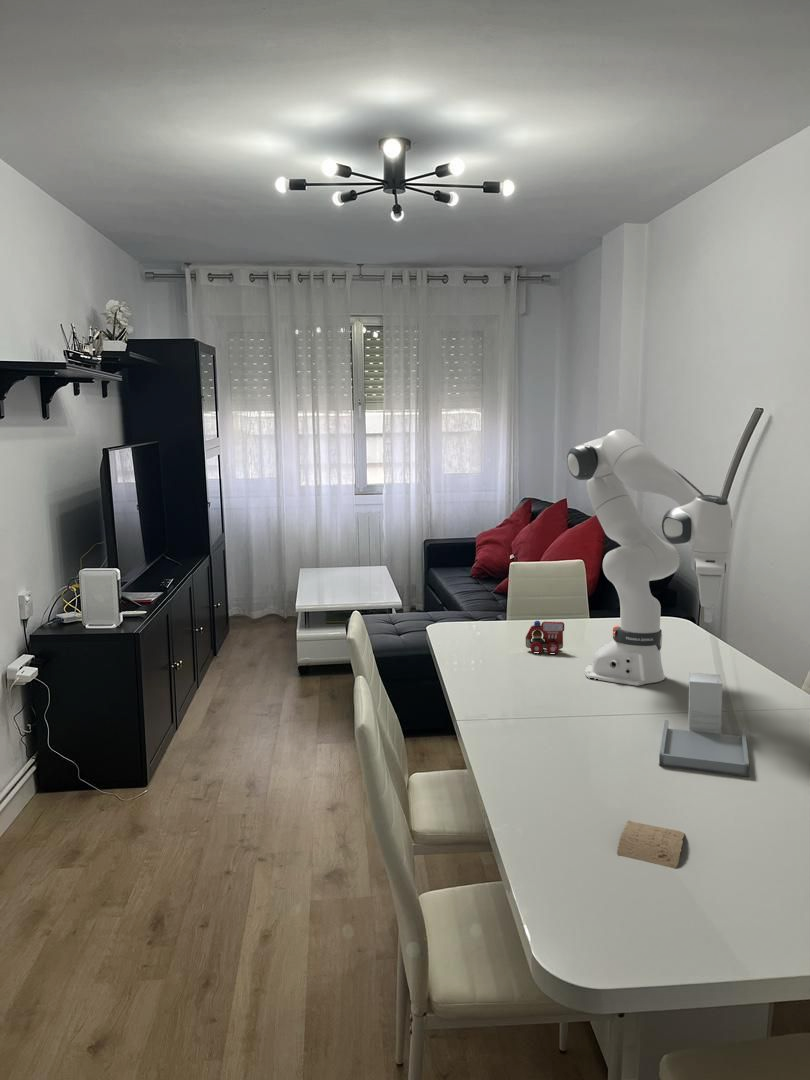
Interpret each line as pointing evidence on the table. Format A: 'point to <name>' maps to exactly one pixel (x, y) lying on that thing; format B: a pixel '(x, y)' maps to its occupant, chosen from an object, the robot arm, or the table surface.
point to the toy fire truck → (545, 637)
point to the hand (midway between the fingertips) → (708, 617)
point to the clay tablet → (651, 844)
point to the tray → (704, 751)
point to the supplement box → (705, 703)
